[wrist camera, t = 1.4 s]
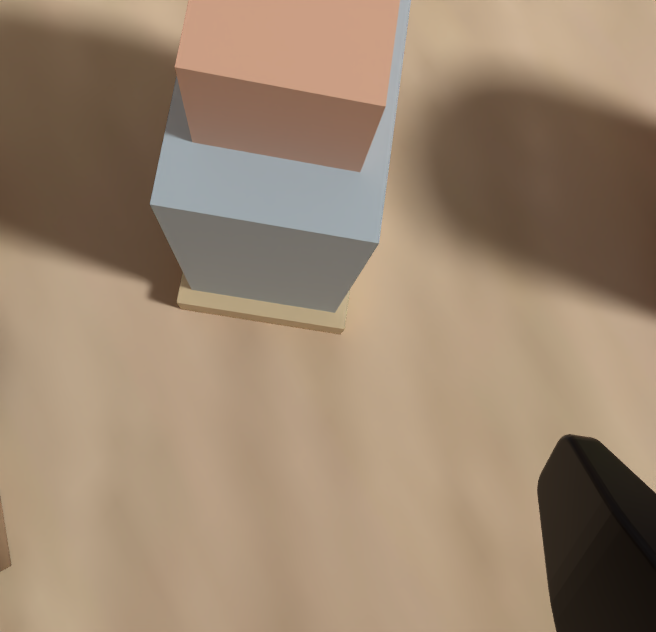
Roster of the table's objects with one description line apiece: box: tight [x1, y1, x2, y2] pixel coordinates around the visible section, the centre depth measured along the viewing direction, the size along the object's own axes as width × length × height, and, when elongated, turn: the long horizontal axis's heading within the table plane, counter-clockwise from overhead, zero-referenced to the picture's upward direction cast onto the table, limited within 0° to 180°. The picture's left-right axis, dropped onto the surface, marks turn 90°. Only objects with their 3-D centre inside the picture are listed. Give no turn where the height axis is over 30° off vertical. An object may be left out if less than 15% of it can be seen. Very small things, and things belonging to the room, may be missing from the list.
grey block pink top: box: [150, 0, 411, 334], centre depth 17 cm, size 9×6×12 cm, turn 172°
